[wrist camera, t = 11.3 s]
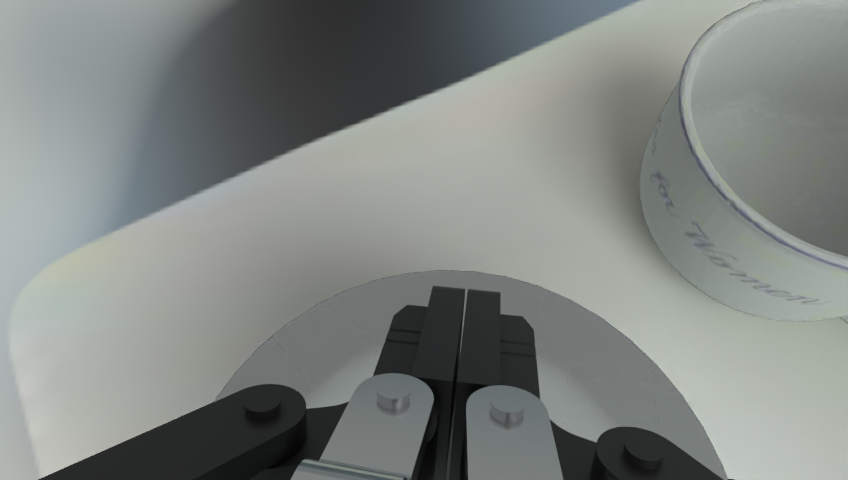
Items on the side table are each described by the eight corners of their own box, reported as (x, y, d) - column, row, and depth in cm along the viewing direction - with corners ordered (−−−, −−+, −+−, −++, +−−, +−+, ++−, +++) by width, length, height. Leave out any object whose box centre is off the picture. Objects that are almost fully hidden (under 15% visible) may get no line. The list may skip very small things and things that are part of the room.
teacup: (585, 146, 28) (630, 20, 20) (805, 93, 28) (927, -47, 21) (711, 455, 22) (835, 435, 15) (982, 384, 23) (1231, 331, 15)
